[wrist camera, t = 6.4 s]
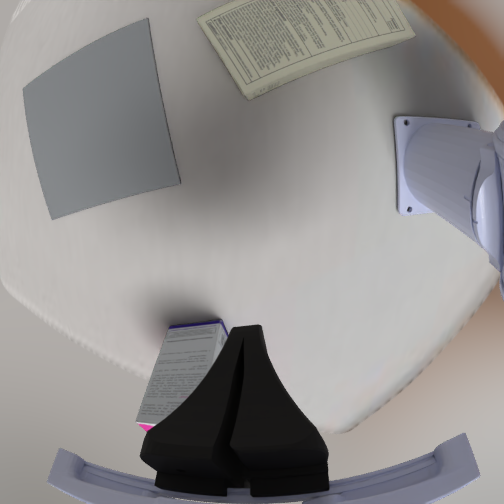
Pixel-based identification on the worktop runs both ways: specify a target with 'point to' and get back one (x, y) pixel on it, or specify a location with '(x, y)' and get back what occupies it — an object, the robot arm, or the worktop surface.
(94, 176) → the rubber mat
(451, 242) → the worktop surface
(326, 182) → the worktop surface
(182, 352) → the supplement box
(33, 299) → the worktop surface
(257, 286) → the worktop surface
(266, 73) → the skincare box
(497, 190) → the robot arm
